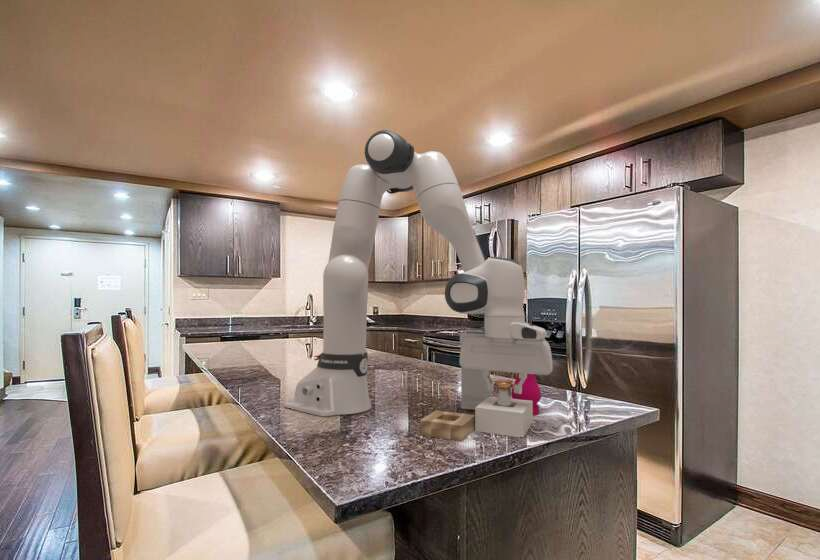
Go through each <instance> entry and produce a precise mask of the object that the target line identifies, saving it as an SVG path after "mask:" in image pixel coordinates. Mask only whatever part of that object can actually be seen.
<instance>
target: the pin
mask: <svg viewBox="0 0 820 560" xmlns="http://www.w3.org/2000/svg"><path fill="white" fill-rule="evenodd" d="M494 382H495V387H496V390H497V391H496V394H497V395H496V397H497V406H505V407H511V399H512V396H511V392H512V387H513V385H514V383H513V380H510V379H496V380H495V381H494Z"/></svg>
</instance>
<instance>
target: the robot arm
mask: <svg viewBox="0 0 820 560" xmlns="http://www.w3.org/2000/svg"><path fill="white" fill-rule="evenodd" d="M414 147H415V146H413V145H412V144H411V143H410V142H408V141H407V140H406V139H405V138H404V137H402V136H401V135H400V134H399V133H396V132H395V131H392V130H389V129H381V130H379V131H376V132H375V133H373V134H372V135H370V137H369V138H368V140H367V141H366V142H365V145H364V157H365V159H366V162H367V164H365V163H362V164H355V165H353V166H351V167H350V168H349V170H348V171H347V173H346V176H345V178H344V180H343V184H342V187H341V190H340V193H339V194H340V195H339V197H338V203H337V209H336V214H335V220H334V225H333V230H332V236H331V237H332V238H331V243H330V251H329V256H328V261H327V264H326V265H325V267H324V270H323V276H322V278H323V281H322V282H323V283H322V284H323V285H322V286H323V287H322V291H323V292H322V293H323V294H322V296H323V297H322V298H323V299H322V300H323V302H322V303H323V304H322V305H323V306H322V307H323V333H322V334H323V339H322V341H323V342H322V343H323V344H322V352H321V353H320V354H318V355H314V356H313V358H314V359H313V360H314V361H317V365H316V367H315V368H314V369H313V370H311V371H310V372H309V373H307V374H306V375H305V376H304V377H302V379H300V380H299V381H298V382H297V384H296V386H295V390H294V398H292V399H290V400H288V401H286V402H285V403H284V407H285V408H286V407H287V408H286V409H289V408H291V409H290V410H294V409H295V410H294V411H298V412H302V413H307V414H311V415H315V416H320V417H329V416H338V415H353V414H359V413H363V412H366V411H369V410H371V409H372V407H373V406H372V403H371V399H370V393H369V386H368V377H367V376H368V368H369V364H368V363H369V361H368V360H369V358H368V357H369V356H368V353H369V352H367V323H368V322H367V319H368V317H367V316H368V297H369V296H368V295H369V294H368V293H369V291H368V290H369V273H368V272H369V267H370V262H371V257H372V253H373V252H372V251H373V248H374V242H375V238H376V234H377V227H378V223H379V222H378V220H379V218H380V217H379V216H380V212H381V205H382V200H383V196H384V194H385V193H387V194H388V193H389V194H390V195H393V194H397V193H406V192H412V191H414V194H415V198H416V202H417V205H418V206H417V207H418V209H419V211H420V214H421V216H422V217H423V221H424V222H425V223H426V225H427V226H429V228H431V229H432V230H433V231H434V232H436V233H437V234H439V235H441V236H442V237H443V238H444V239H445V240H447V242H449V243H450V245H451V246H452V247H453V248H454V250H455V252H456V255H457V257H458V259H459V263H460V266H461V268H462V271H463V272H461V273H457V274H454V275H453V276H451V277H450V278H449V279H448V280H447V282H446V285H445V288H444V299H445V302H446V304H447V307H449V308H450V309H451V310H452V311H453V312H457V313H458V314H464V315H465V314H466V315H474V314H475V315H476V314H477V315H480V316H484V318H483V319H484V328H471V327H469V328H466V329H465V330H464V329H463V330H462V331H461V332H460V334H459V344H460V350H459V360H458V361H459V366H460V368H461V369H462V368H463V369H473V370H483V377H484V379H485V380H486V382H487V383H488V391H490V392H497V391H496V390H497V387H496V386H495V381H493V380H492V378H491V375H492V372H501V373H512V374H517V373H519V378H522V379H521V380H520V382H519V384H515V385H514V384H513V385H514V394H521V393H522V385H523V383H524V381H525V380H526V378H527V374H535V375H537V376H549V375H550V374H551V373H552V372H553V368H554V367H553V357H552V350H551V346H550V344H549V342H548V341H547V340H546V337H547V330H546V329H545V328H543V327H540V326H538V325H535V324H532V323H528V322H526V317H525V316H526V315H525V310H524V302H525V301H524V300H525V295H526V293H525V291H526V290H525V276H524V275H525V274H524V270H523V266H522V265H521V263H519V262H518V261H517V260H515V259H509V258H506V257H505V258H504V257H500V256H499V257H498V256H491V257H488V258H487V259H486V257H485V255H484V251H483V249H482V246H481V245H480V241H479V239H478V236H477V235H476V232H475V230H474V228H473V224H472V221H471V218H470V216H469V212H468V209H467V207H466V203H465V200H464V198H463V194H462V190H461V187H460V184H459V182H458V179H457V177H456V174H455V172H454V170H453V168H452V165H451V164H450V162H449V160H448V158H447V157H446V156H445V155H444V154H443V153H441V152H440V151H435V150H431V151H430V150H429V151H426V152H423V153H417V152H416V151H415V148H414ZM489 375H490V376H489Z"/></svg>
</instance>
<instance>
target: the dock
mask: <svg viewBox="0 0 820 560" xmlns="http://www.w3.org/2000/svg"><path fill="white" fill-rule="evenodd" d="M474 415H475V430H474V431H475V432H478V433H484V432H485V434H492V435H498V434H499V435H500V436H505V435H506V436H508V437H514V438H520V437H522V438H521V439H524V437H525V436H526V434H527V433H528V431H529V429H530V428H531V427H532V425H533V421H534V420H533V419H534V417H533V416H534V415H533V401H530V400H520V399H513V398H511V407H505V406H497V396H491V395H490V396H489V397H488V398H487V399H486V400H484V401H483V402H482V403H480V404H479V405H478V406H477V407H475V410H474Z"/></svg>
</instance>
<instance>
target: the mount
mask: <svg viewBox="0 0 820 560" xmlns="http://www.w3.org/2000/svg"><path fill="white" fill-rule="evenodd" d="M419 420H420V421H419V422H420V425H419V426H420V427H419V429H420V431H419V432H420V433H419V435H420V436H423V437H424V436H425V437H431V438H432V437H433V438H439V439H444V440H452V441H458V442H463V441H464V440H465V439H466V438H467V437H468V436H469V435H471V433H472V432H474V431H475V414H469V413H461V412H453V411H444V410H437V409H436V410H435V411H433V412H431V413H430V414H428V415H426V416H425V417H423V418H422V419H419Z"/></svg>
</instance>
